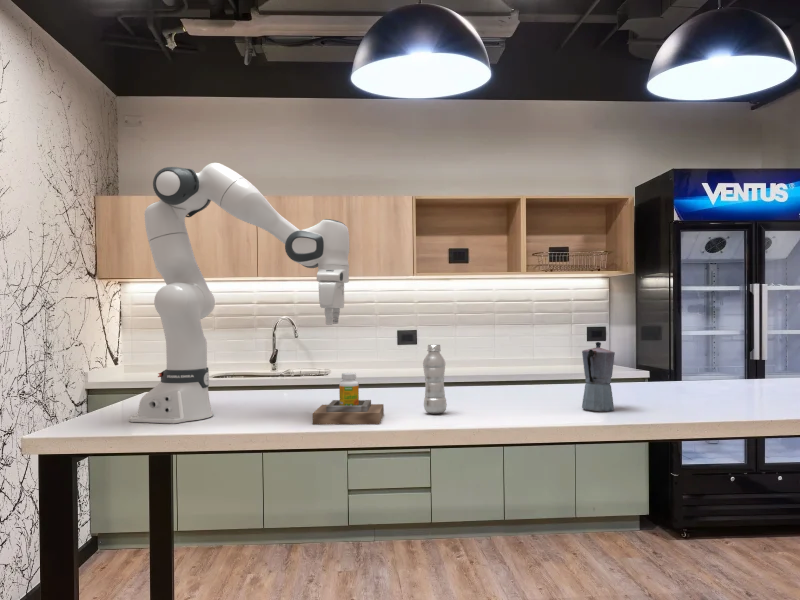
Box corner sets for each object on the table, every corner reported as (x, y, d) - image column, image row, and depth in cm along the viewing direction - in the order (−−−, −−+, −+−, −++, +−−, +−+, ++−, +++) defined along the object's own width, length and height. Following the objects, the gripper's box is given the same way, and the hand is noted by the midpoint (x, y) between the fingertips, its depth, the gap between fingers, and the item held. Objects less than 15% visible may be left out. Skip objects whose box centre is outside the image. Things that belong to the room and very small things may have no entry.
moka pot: (620, 407, 170) (619, 341, 171) (609, 416, 157) (607, 344, 158) (588, 405, 176) (587, 340, 176) (574, 413, 163) (573, 343, 163)
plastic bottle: (445, 415, 161) (444, 345, 161) (422, 415, 162) (420, 345, 163) (448, 411, 167) (447, 344, 168) (425, 411, 169) (424, 344, 169)
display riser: (312, 424, 152) (312, 407, 152) (322, 414, 166) (322, 399, 166) (379, 424, 151) (379, 407, 151) (383, 414, 165) (383, 399, 165)
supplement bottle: (343, 410, 155) (342, 375, 155) (337, 407, 160) (336, 373, 160) (361, 408, 157) (361, 373, 157) (355, 406, 162) (354, 372, 162)
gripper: (329, 278, 173) (328, 323, 173) (315, 273, 153) (314, 324, 153) (349, 278, 173) (348, 323, 173) (338, 274, 153) (337, 325, 152)
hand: (332, 324), depth 163 cm, fingers open, 8 cm apart
